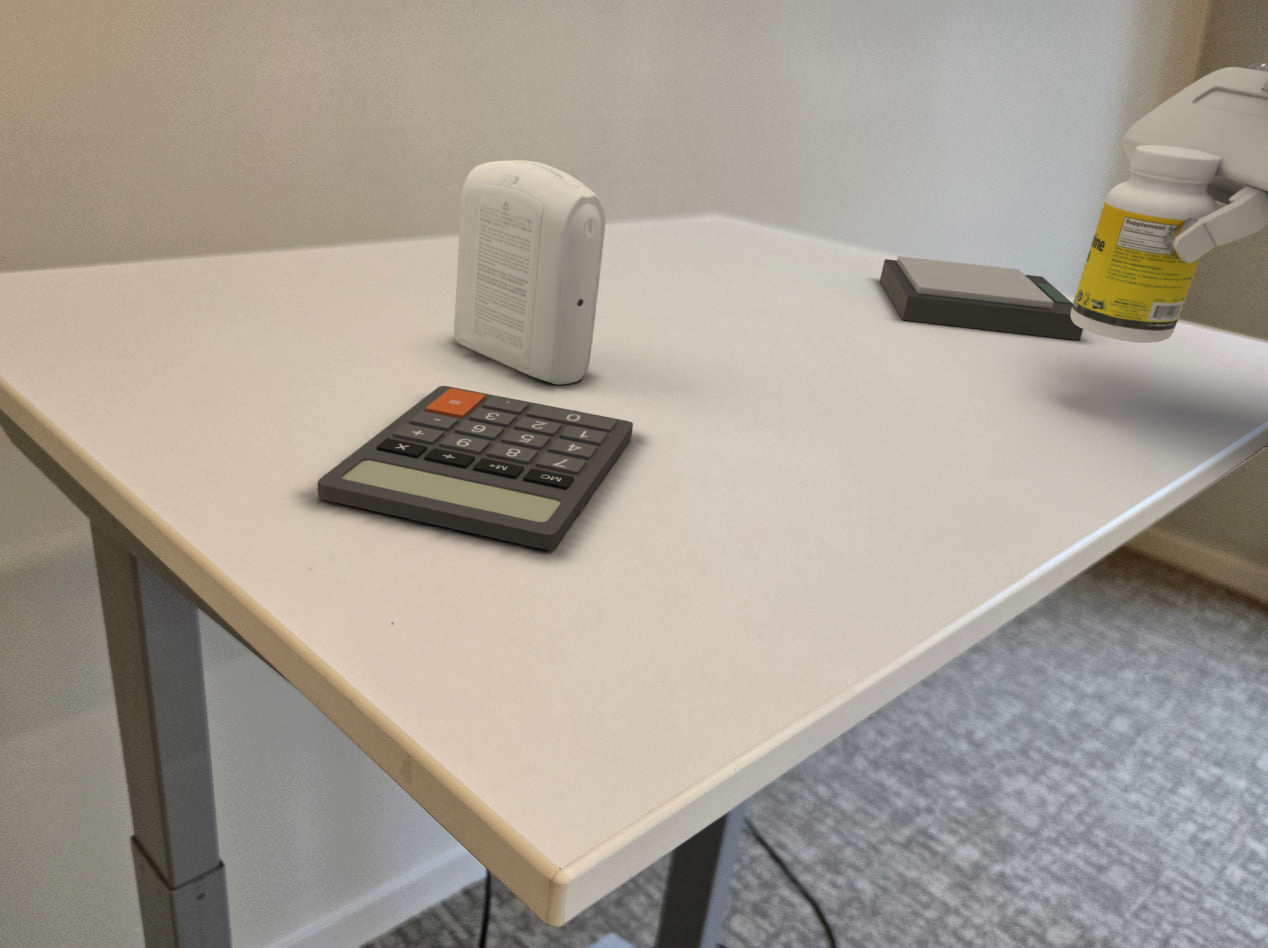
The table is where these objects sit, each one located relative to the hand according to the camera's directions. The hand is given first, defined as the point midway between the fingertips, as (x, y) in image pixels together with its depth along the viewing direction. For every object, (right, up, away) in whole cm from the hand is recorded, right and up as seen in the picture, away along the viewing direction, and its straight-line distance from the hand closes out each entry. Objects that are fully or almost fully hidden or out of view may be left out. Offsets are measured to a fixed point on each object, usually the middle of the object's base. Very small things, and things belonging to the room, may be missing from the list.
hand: (1140, 237), depth 67 cm
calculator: (-40, -15, -11) cm, 44 cm away
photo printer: (-39, -7, +4) cm, 39 cm away
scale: (0, +1, +25) cm, 25 cm away
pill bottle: (0, -5, +3) cm, 6 cm away
